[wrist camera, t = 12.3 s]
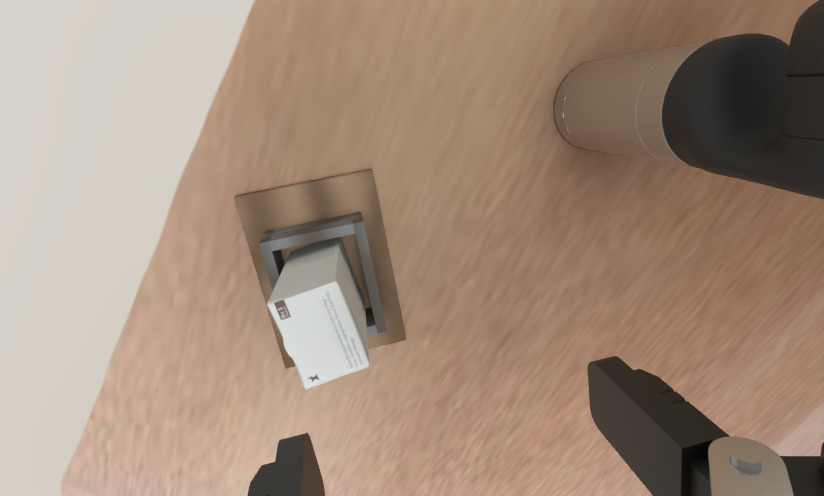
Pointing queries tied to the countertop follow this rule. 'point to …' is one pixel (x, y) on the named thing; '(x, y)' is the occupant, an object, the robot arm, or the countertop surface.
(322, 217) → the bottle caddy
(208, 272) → the countertop surface
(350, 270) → the skincare box
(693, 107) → the robot arm
